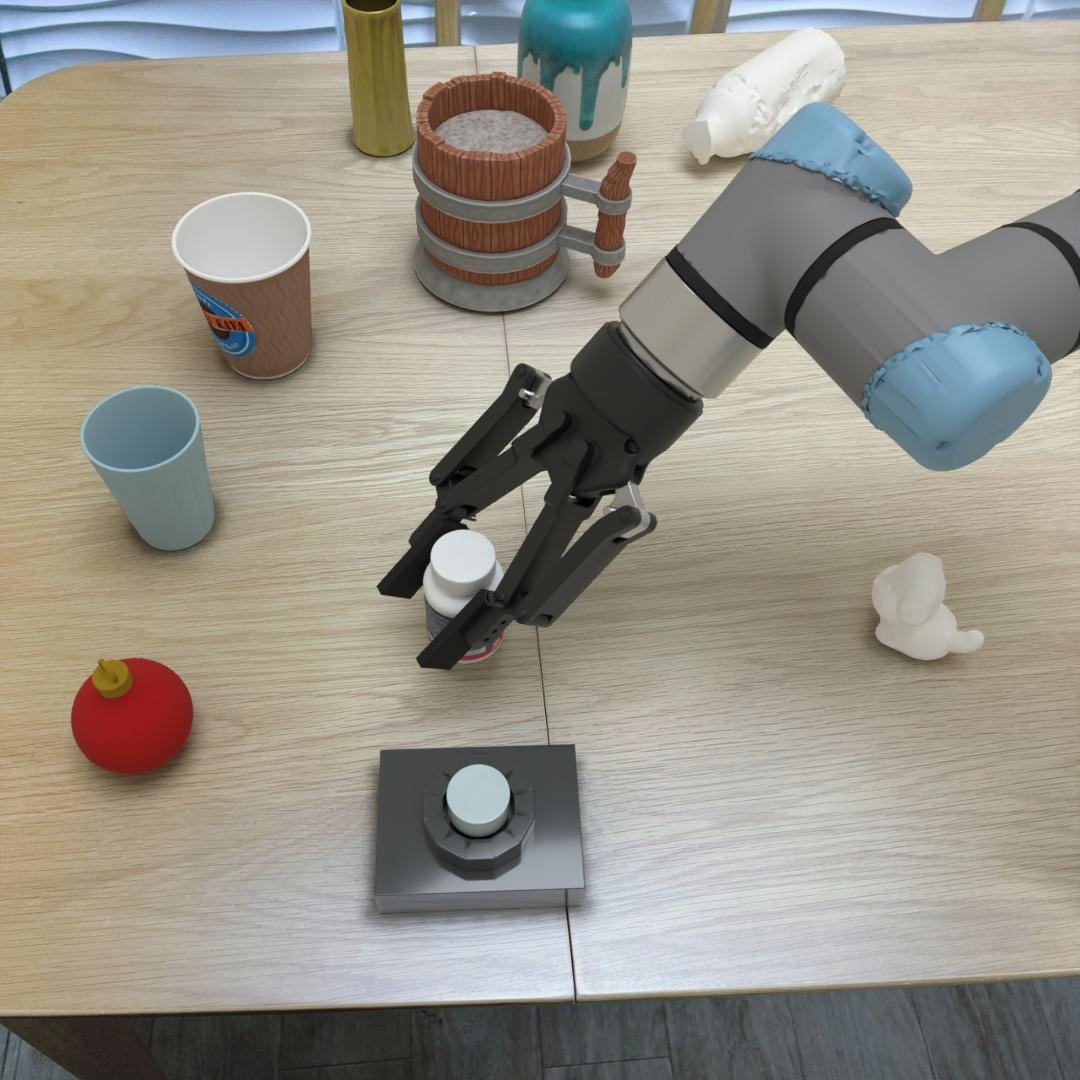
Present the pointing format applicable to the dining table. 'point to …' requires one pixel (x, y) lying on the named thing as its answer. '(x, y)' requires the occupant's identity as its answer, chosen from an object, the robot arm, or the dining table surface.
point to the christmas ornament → (131, 715)
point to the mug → (505, 194)
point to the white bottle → (766, 94)
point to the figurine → (919, 611)
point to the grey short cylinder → (478, 800)
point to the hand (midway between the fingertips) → (413, 627)
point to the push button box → (478, 862)
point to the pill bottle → (459, 583)
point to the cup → (153, 463)
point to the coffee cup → (251, 278)
